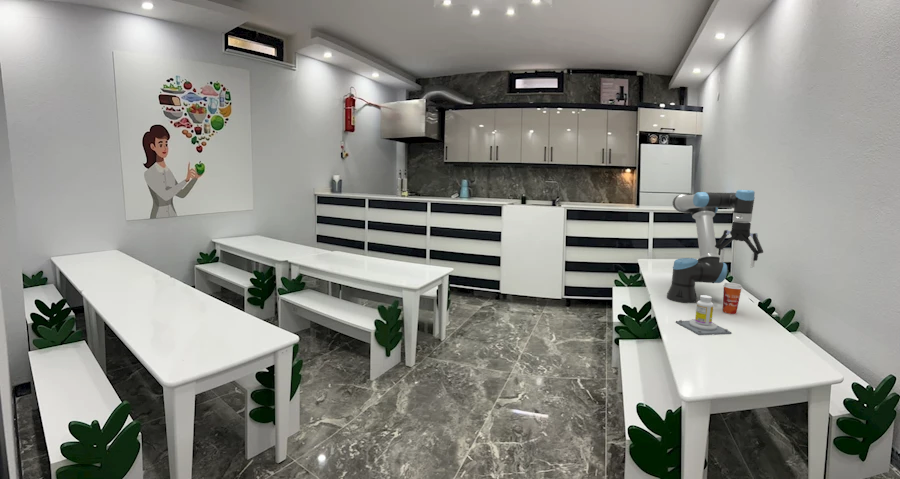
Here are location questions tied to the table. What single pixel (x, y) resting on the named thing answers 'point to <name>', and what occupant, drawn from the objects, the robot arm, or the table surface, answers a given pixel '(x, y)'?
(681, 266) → the robot arm
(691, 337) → the table surface
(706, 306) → the supplement bottle
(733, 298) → the coffee cup
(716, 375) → the table surface
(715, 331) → the flange
